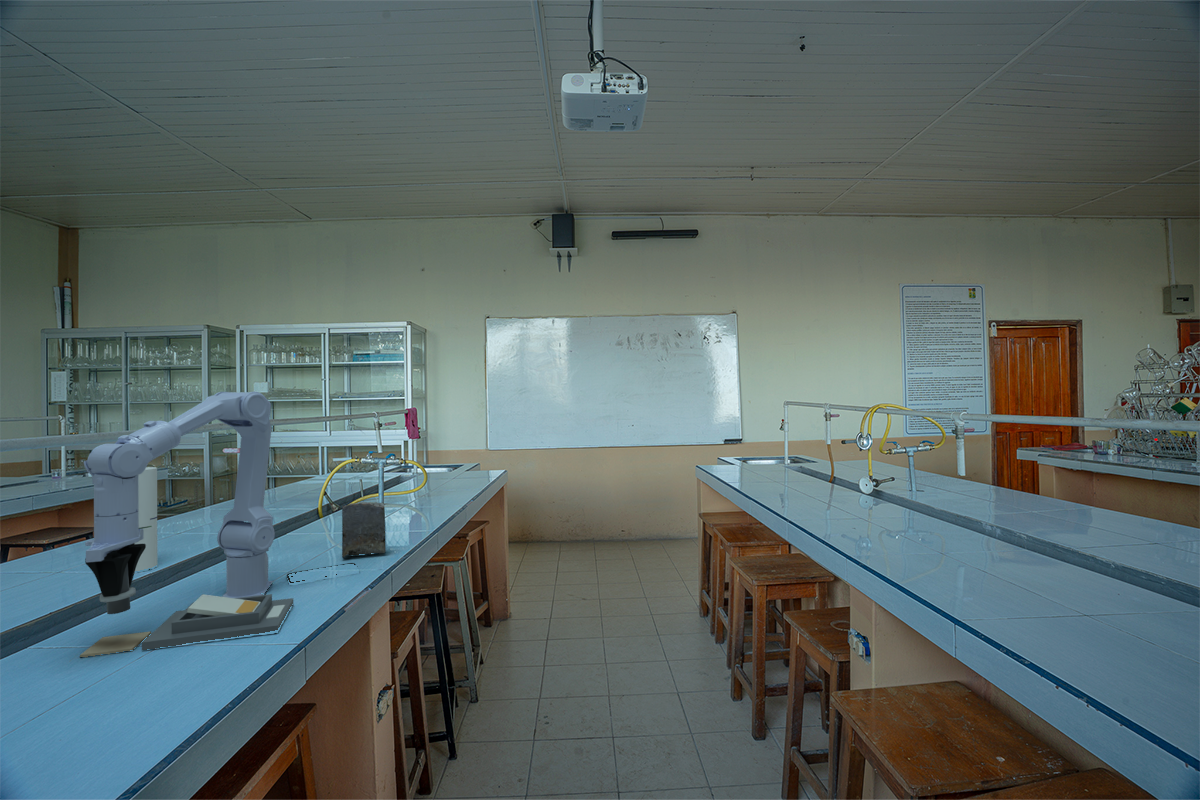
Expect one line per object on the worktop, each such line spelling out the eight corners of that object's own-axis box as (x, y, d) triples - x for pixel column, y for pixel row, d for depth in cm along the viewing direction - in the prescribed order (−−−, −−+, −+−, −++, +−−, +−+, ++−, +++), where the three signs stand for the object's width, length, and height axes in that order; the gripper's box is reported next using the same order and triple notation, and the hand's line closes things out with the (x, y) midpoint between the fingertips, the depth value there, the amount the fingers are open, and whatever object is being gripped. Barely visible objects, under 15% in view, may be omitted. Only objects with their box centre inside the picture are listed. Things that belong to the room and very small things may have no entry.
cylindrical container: (164, 564, 137) (164, 467, 137) (141, 573, 130) (141, 470, 129) (136, 564, 137) (135, 467, 136) (111, 574, 129) (111, 471, 129)
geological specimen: (385, 551, 149) (385, 497, 149) (385, 557, 143) (385, 501, 143) (342, 555, 145) (342, 500, 144) (341, 562, 139) (341, 504, 139)
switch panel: (176, 618, 103) (176, 600, 103) (293, 605, 110) (293, 588, 110) (141, 651, 90) (141, 630, 90) (277, 633, 97) (277, 614, 97)
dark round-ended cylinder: (110, 607, 94) (107, 556, 94) (142, 603, 95) (139, 553, 95) (94, 618, 89) (90, 564, 89) (127, 613, 91) (124, 561, 91)
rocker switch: (201, 598, 102) (202, 593, 102) (259, 605, 105) (261, 601, 105) (186, 612, 95) (188, 607, 95) (249, 619, 98) (251, 615, 98)
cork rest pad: (102, 639, 94) (102, 637, 94) (151, 634, 97) (151, 631, 97) (79, 658, 88) (79, 655, 88) (132, 651, 90) (132, 648, 90)
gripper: (110, 506, 98) (110, 580, 98) (61, 524, 84) (61, 610, 84) (157, 504, 100) (157, 576, 100) (117, 521, 86) (117, 604, 86)
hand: (116, 591), depth 92 cm, fingers closed on dark round-ended cylinder, 3 cm apart
